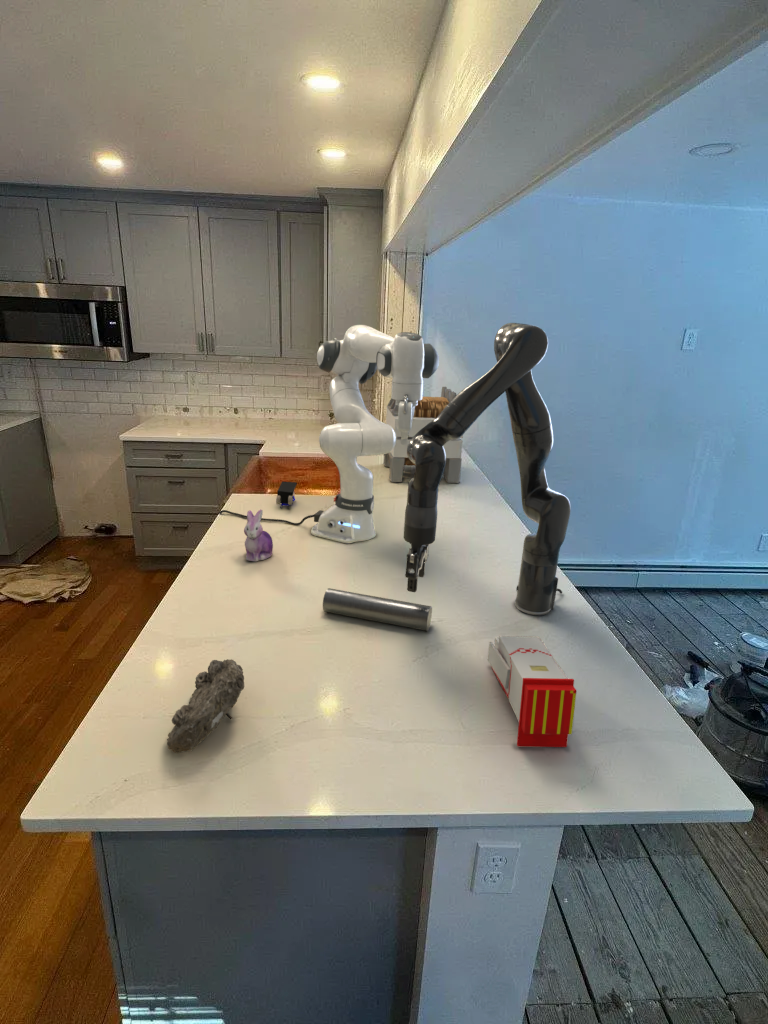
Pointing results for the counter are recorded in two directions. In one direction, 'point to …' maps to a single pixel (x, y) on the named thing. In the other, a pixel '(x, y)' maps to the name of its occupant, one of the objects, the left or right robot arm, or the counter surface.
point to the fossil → (206, 705)
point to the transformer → (422, 416)
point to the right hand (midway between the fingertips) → (415, 583)
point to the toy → (534, 690)
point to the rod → (377, 609)
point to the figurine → (257, 538)
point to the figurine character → (286, 494)
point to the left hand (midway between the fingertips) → (404, 441)
